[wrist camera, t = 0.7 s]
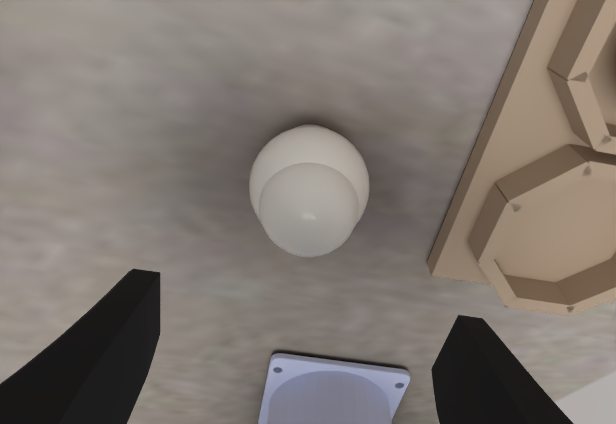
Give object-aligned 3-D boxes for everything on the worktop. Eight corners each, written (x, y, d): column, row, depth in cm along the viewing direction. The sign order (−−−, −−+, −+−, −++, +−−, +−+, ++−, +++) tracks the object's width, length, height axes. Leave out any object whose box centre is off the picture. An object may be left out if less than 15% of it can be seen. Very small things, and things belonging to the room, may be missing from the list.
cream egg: (349, 208, 20) (360, 297, 15) (252, 192, 20) (231, 279, 15) (375, 115, 18) (396, 187, 13) (263, 95, 18) (244, 162, 13)
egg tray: (601, 288, 23) (631, 326, 20) (427, 262, 22) (438, 298, 20) (846, -58, 15) (936, -54, 12) (582, -118, 14) (630, -124, 12)
